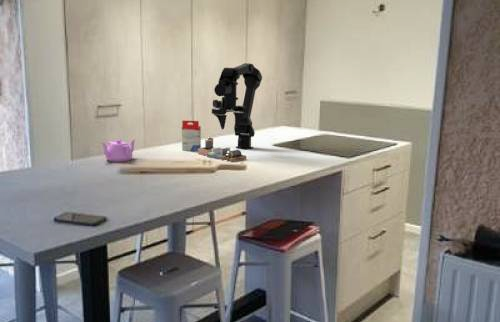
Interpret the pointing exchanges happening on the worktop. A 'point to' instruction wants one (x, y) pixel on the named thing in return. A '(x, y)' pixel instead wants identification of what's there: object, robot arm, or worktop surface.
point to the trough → (234, 158)
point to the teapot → (118, 151)
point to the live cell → (233, 154)
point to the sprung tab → (224, 151)
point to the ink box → (191, 136)
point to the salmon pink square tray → (203, 151)
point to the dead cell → (208, 143)
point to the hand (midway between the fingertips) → (229, 128)
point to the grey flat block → (215, 153)
